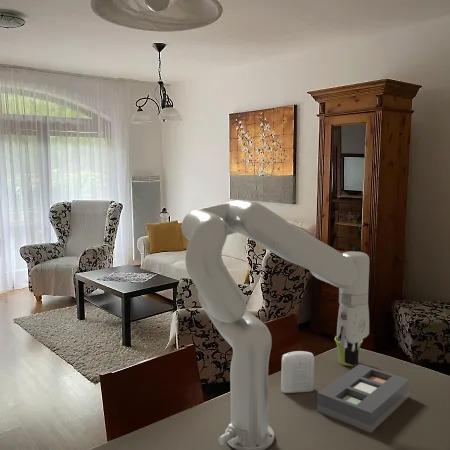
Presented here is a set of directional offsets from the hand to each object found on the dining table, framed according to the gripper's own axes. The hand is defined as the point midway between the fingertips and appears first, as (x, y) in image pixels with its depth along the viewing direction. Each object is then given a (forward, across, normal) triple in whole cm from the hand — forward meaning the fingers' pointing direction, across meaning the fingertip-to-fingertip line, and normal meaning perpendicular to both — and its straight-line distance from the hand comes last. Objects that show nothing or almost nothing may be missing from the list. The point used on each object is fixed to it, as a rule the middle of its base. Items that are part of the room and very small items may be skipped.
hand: (351, 363), depth 125 cm
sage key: (+13, 0, 0) cm, 13 cm away
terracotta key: (+13, +16, 0) cm, 21 cm away
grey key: (+12, +8, 0) cm, 14 cm away
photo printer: (+15, +2, +19) cm, 24 cm away
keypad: (+15, +8, 0) cm, 17 cm away
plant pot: (+15, +30, +17) cm, 38 cm away
